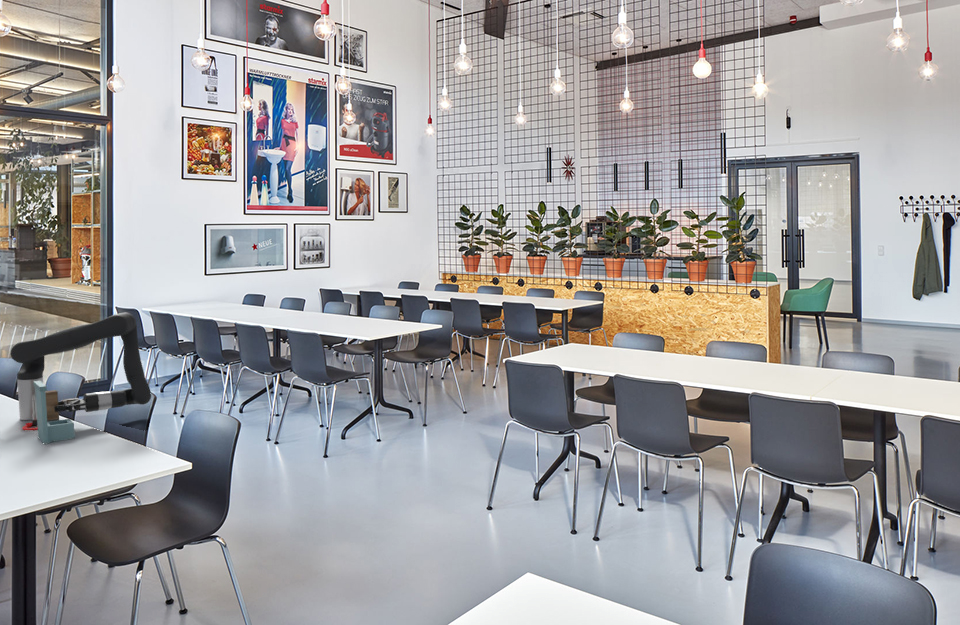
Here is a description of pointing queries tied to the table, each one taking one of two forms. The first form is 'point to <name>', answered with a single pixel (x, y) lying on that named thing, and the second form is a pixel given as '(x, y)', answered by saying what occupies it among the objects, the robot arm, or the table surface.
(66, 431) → the teal holder stand
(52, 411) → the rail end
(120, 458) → the table surface
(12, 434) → the table surface
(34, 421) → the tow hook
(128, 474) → the table surface
